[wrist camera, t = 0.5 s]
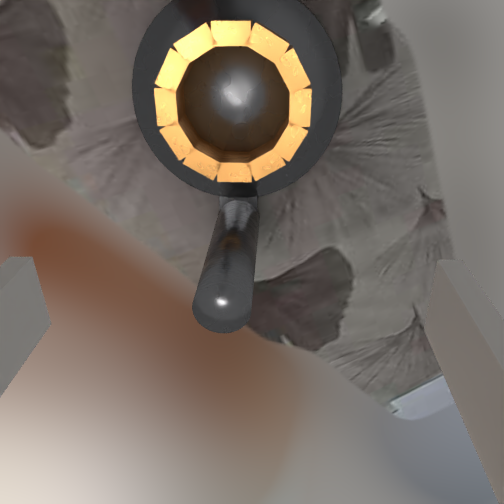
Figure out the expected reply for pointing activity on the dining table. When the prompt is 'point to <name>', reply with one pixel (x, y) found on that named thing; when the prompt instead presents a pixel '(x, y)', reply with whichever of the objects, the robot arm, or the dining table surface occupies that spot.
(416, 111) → the dining table surface
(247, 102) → the round base with peg
